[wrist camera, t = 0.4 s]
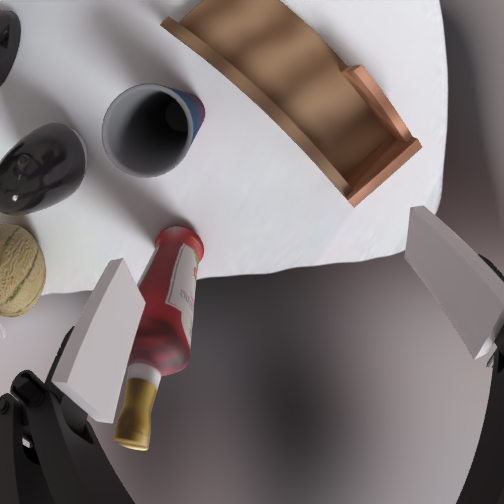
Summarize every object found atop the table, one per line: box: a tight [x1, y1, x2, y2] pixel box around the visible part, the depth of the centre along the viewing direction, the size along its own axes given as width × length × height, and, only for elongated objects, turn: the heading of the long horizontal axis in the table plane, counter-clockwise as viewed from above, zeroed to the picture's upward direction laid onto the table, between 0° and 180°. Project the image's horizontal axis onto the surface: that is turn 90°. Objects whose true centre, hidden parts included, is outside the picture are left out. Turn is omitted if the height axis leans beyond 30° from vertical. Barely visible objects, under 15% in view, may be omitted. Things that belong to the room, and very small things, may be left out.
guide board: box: [160, 0, 422, 207], centre depth 25 cm, size 28×11×7 cm, turn 45°
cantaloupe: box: [0, 224, 46, 317], centre depth 31 cm, size 15×15×15 cm
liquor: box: [113, 226, 204, 450], centre depth 27 cm, size 7×7×28 cm
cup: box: [102, 84, 205, 178], centre depth 23 cm, size 7×7×15 cm
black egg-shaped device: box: [0, 123, 88, 215], centre depth 24 cm, size 10×10×15 cm
